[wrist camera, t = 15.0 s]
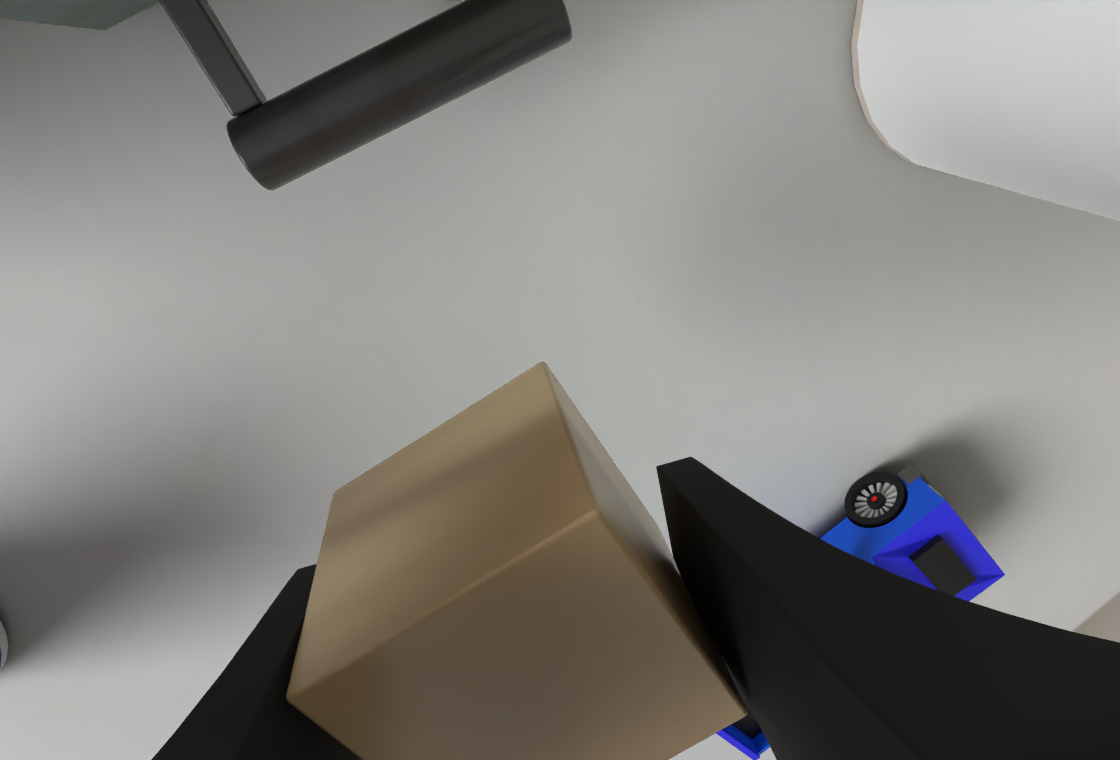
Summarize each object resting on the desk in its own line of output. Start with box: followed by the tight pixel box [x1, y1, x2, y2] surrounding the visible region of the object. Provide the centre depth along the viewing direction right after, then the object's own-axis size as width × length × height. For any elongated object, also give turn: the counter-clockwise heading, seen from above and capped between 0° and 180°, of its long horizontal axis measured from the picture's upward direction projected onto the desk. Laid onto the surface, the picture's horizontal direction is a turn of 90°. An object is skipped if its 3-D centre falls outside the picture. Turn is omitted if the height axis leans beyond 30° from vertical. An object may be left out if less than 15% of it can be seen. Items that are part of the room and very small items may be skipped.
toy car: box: [716, 464, 1005, 760], centre depth 25 cm, size 7×12×5 cm, turn 133°
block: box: [286, 362, 747, 760], centre depth 11 cm, size 4×4×4 cm
